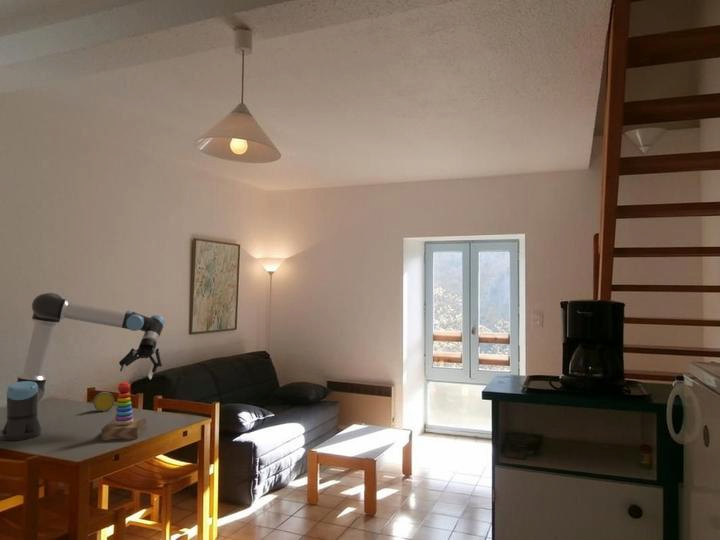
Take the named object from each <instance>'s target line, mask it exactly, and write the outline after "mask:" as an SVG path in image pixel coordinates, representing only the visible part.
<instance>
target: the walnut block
mask: <svg viewBox="0 0 720 540" xmlns="http://www.w3.org/2000/svg"><path fill="white" fill-rule="evenodd" d="M133 420H134V421H133V423H131V424H128V425H116V424H115V423H114V422H115V419H112V420H110V421H109V422H108V423H107V424H105V425H104V426H103V427H102V428H101V430H100V431H101V432H100V433H101V436H100V437H101V438H100V439H101V441H109V440H108V439H124V440H138V439H139V438H138V437H139V436H140V437H141V436H142V435H143V433H144V432H145V431H146V430H147V418H135V419H134V418H133ZM105 439H107V440H105Z"/></svg>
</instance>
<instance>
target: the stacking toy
mask: <svg viewBox="0 0 720 540" xmlns="http://www.w3.org/2000/svg"><path fill="white" fill-rule="evenodd" d="M117 389H118V391H119V393H117V395H118V397H117V399H116V400H117V401H116V402H117V403H116V407H115V409H116V412H115V417H114V420H115V422H114V423H115V424H116V425H128V424H131V423H133V421H134V420H133V419H134V415H133V412H134V411H133V410H132V409H133V406H132V401H131V400H132V399H131V392H130V389H131V384H130V383H129V382H127V381H123V382H120V383H119V384H118V386H117Z"/></svg>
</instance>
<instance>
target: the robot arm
mask: <svg viewBox="0 0 720 540" xmlns="http://www.w3.org/2000/svg"><path fill="white" fill-rule="evenodd" d="M31 310H32V313H33V314H32V317H31V320H32V321H33V323H34V325H33V329H32V333H31V337H30V341H29V345H28V348H27V349H28V350H27V354H26V359H25V361H24V362H25V363H24V367H23V370H22V373H20V374H19V375H18V376H17V379H16V382H15V383H14V382H13V383H11V384H10V385H9V386H8V387H7V390H6V421H5V424H4V426H3V429H2V431H1V440H3V441H8V440H9V442H10V441H23V440H28V439H29V440H30V439H33V438H36V437H38V436H40V435H42V431H43V430H42V425H41V423H40V420H39V417H38V406H39V405H38V403H39V402H40V401H41V400H42V399H43V397H44V395H45V392H46V390H45V385H46V382H47V377H46V376H45V375H44V374H45V370H46V364H47V362H48V361H47V360H48V357H49V353H50V348H51V344H52V341H53V335H54V332H55V327H56V325H58V324H59V323H60V321H62V320H64V319H68V320H74V321H79V322H86V323H91V324H98V325H103V326H108V327H114V328H120V329H125V330H129V331H134V332H136V331H142V332H144V333H143V335H142V338H141V340H140V343H139V345H138V348H137V349H134V348H131V349H130V351H129V352H128V353H127V354H126V355H125V356H124V357H123V358H122V359H121V360H120V361H119V362H118V364H119V365H120V369H119V370H120V371H119V372H120V373H119V378H120V380H123V379H124V377H125V374H126V372H127V370H128V366H130V365H131V364H133V363H134V362H136V361H137V360H140V359H149V360H150V362H151V363H152V364H151V366H150V369H149V372H148V375H147V378H148V379H149V380H152V378H153V375H154V374H155V373H156V372H157V369H158V367H161V368H162V366H163V364H162V361H161V357H160V355H161V351H160V349H159V348H156V347H157V344H158V342H159V338H160V336H161V334H162V332H163V328H164V326H165V319H164V318H163V317H162V316H161V315H155V314H154V315H151V316H150V317H148V316H146V315H143V314H140V313H138V312H135V311H131V310H126V311H125V312H123V311H118V310H113V309H107V308H102V307H96V306H92V305H85V304H80V303H75V302H70V301H68V299H65V298H62V296H61V295H59V294H57V293H55V292H45V293H41V294H39V295H37V296H35V297H34V299H33V300H32V302H31ZM154 354H155V356H156V360H155V359H154V357H153V355H154ZM156 361H157V362H156Z"/></svg>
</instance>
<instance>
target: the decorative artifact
mask: <svg viewBox="0 0 720 540" xmlns="http://www.w3.org/2000/svg"><path fill="white" fill-rule="evenodd" d="M92 402H93V403H92V404H93V406H94V409H95V410H96V411H98V412H100V411H105V412H108V411H110V410H111V409H112V408H113V406H114V405H115V398H114V396H113V394H111V393H110V392H108V391H102V392H100V393H98V394H96V395H95V396H94V398H93V401H92Z"/></svg>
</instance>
